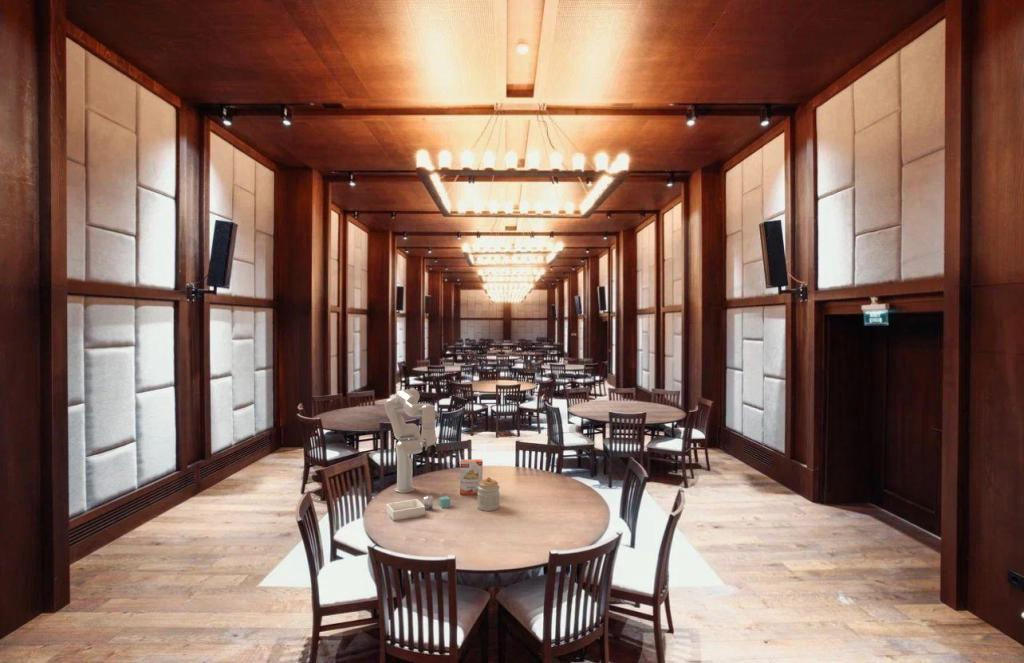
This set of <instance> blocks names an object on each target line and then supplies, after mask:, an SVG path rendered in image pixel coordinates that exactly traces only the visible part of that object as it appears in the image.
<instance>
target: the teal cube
mask: <svg viewBox="0 0 1024 663" xmlns="http://www.w3.org/2000/svg"><path fill="white" fill-rule="evenodd" d="M438 506H439V507H440V508H441V509H447V508H451V498H450V497H449V496H447V495H446V496H439V497H438Z"/></svg>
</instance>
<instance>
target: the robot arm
mask: <svg viewBox="0 0 1024 663" xmlns="http://www.w3.org/2000/svg"><path fill="white" fill-rule="evenodd" d="M395 395H396V396H395V397H391V398H388V399H387V400H386V401H385V404H384V409H385V413H386V416H387V417H388V419H389V421H390V424H391V427H392V431H393V435H394V438H395V439H396V440H398V442H397V443H396V444H395V452H396V471H397V472H396V487H394V492H396V493H400V494H402V493H404V494H405V493H411V492H414V491H415V489H416V488H415V486H414V485H413V460H412V458H411V457H410V456H412V455H416V454H420V453H422V454H421V457H422V458H427V457H428V450H427V449H428V447H430V454H433V455H435V454H436V453H437V450H436V449H437V448H436V447H437V443H438V442H437V440H438V438H437V435H436V416H435V415H436V406H435V405H433V404H430V403H428V402H427V403H424V402H423V403H418V402H419V400H420V391H419V390H417V389H414V388H410V389H402V390H399V391H398V392H397V393H396V394H395ZM399 411H404V413H405V414H406V415H407V416H409V417H411V418H416V417H417V418H418V417H421V425H422V426H421V432H420V429H419V427H418V425H417V424H415V423H413V422H412V423H406V420H405V417H404V415H403V416H402V414H401V413H400V412H399ZM399 440H400V441H399Z"/></svg>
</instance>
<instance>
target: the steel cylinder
mask: <svg viewBox="0 0 1024 663" xmlns="http://www.w3.org/2000/svg"><path fill="white" fill-rule="evenodd" d="M433 500H434V497H433V495H425V496H423V505H424V506H425V512H426V511H427V512H428V511H429V512H430V511H432V510H433V507H434V506H433V504H434V503H433Z"/></svg>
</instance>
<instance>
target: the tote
mask: <svg viewBox="0 0 1024 663" xmlns="http://www.w3.org/2000/svg"><path fill="white" fill-rule="evenodd" d="M385 514H387V516H388V515H389V516H388V517H389V518H390V520H392V522H396V521H401V520H407V519H408V520H409V519H413V518H419V517H424V516H426V510H425V506H424V503H422V502H421V501H420V500H419V499H418V498H414V499H410V500H409V499H408V500H401V501H397V502H396V501H394V502H391V503H390V502H388V503H386V504H385Z"/></svg>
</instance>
